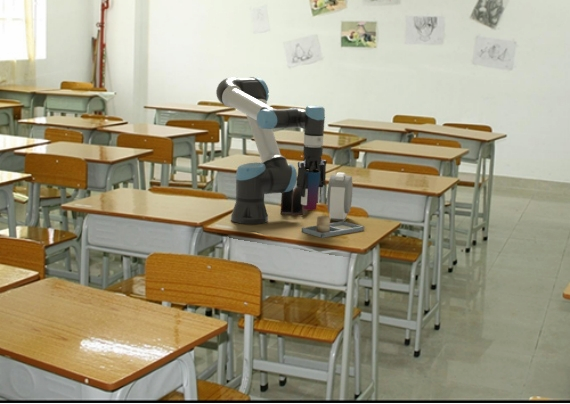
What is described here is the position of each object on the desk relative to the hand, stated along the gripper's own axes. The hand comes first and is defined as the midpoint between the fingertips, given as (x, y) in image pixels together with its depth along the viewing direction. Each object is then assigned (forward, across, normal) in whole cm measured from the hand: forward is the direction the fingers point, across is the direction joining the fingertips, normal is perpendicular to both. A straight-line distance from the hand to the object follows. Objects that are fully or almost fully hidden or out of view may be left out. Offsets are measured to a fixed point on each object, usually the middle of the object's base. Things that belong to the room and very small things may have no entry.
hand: (310, 203), depth 317 cm
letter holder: (+11, +19, +29) cm, 36 cm away
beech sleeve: (+9, -4, -12) cm, 15 cm away
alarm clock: (+10, +21, +4) cm, 24 cm away
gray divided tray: (+10, +2, -12) cm, 16 cm away
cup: (+2, 0, 0) cm, 2 cm away
